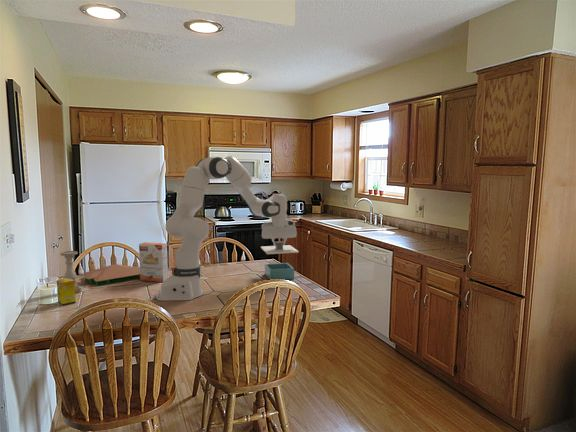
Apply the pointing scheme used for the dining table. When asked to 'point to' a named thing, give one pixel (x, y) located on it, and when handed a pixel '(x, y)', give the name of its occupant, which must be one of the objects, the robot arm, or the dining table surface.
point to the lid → (279, 249)
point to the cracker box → (153, 261)
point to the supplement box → (66, 291)
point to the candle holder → (70, 267)
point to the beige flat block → (112, 273)
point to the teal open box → (279, 271)
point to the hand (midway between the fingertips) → (279, 245)
